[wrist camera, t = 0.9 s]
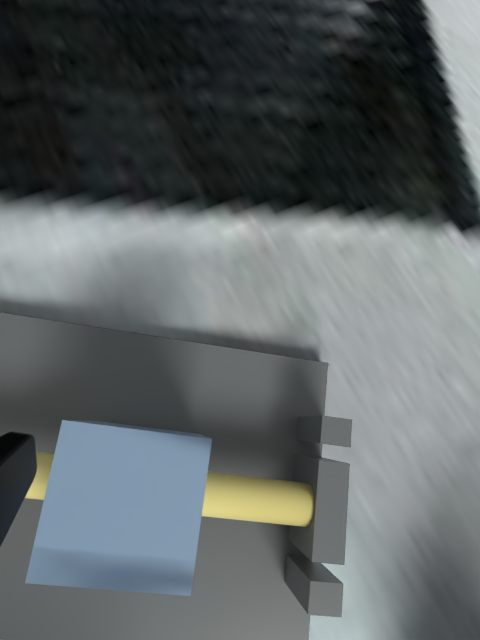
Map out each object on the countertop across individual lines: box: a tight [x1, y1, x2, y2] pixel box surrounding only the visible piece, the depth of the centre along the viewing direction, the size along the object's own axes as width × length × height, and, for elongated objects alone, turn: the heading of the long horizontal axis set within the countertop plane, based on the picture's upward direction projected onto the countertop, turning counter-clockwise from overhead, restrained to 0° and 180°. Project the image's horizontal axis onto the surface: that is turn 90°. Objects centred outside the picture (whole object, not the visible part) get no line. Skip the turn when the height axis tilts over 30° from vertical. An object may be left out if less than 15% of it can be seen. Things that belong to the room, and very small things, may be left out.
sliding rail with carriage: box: [0, 312, 352, 640], centre depth 18 cm, size 14×26×6 cm, turn 83°
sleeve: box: [25, 420, 212, 596], centre depth 17 cm, size 5×5×7 cm
